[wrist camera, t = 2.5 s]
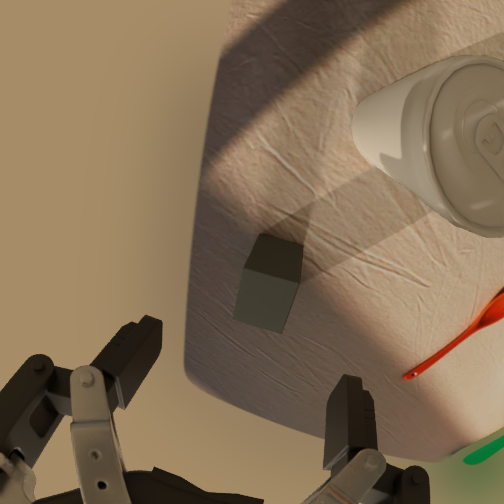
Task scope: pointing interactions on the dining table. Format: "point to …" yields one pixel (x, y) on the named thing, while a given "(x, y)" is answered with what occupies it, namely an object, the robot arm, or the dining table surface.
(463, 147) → the beverage can
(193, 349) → the dining table surface
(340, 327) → the dining table surface
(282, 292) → the dark gray rectangular block
